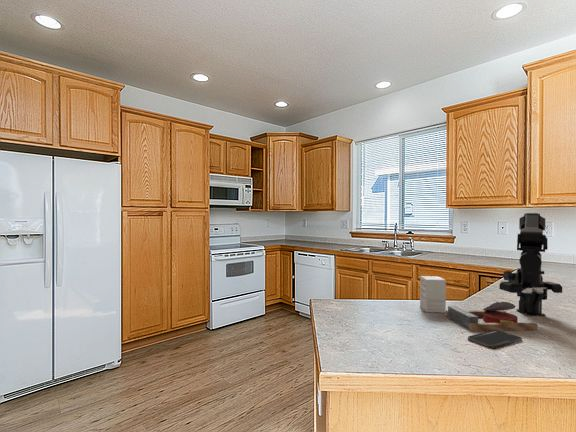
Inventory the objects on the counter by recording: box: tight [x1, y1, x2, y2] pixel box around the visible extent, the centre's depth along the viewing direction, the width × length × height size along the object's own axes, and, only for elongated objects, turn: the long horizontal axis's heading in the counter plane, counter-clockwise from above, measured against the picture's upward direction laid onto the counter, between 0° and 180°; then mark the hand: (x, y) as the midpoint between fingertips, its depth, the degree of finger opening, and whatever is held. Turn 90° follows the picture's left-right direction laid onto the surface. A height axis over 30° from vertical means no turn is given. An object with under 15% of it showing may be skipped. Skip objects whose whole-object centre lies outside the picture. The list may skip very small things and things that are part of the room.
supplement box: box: [419, 275, 447, 314], centre depth 123 cm, size 7×7×13 cm
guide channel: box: [445, 309, 538, 332], centre depth 109 cm, size 22×15×2 cm
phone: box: [467, 330, 523, 350], centre depth 93 cm, size 8×1×15 cm
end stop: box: [447, 305, 479, 330], centre depth 108 cm, size 3×12×4 cm, turn 4°
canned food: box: [482, 301, 518, 323], centre depth 109 cm, size 11×10×10 cm
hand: (530, 311), depth 110 cm, fingers closed
